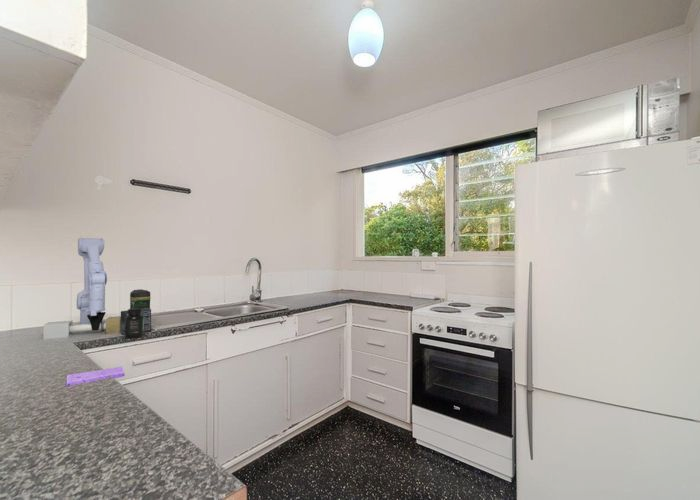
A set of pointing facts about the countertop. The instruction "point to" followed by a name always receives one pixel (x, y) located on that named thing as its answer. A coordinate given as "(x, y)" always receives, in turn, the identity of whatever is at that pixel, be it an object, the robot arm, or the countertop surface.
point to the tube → (85, 327)
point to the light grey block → (57, 330)
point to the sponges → (94, 375)
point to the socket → (113, 325)
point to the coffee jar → (140, 299)
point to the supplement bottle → (134, 323)
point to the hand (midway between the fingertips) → (96, 329)
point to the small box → (147, 320)
